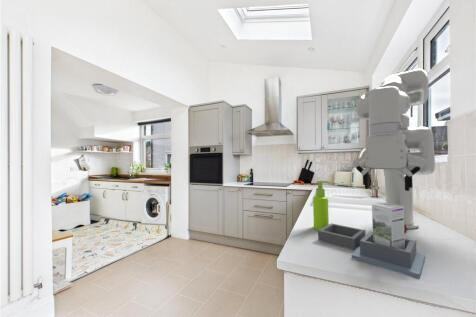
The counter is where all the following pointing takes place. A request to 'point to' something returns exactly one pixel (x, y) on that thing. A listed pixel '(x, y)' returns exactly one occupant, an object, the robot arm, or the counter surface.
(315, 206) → the soap dispenser
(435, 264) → the counter surface
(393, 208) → the syrup box
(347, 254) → the counter surface
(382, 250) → the frame
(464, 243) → the counter surface
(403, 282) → the counter surface
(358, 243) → the grey square tray
